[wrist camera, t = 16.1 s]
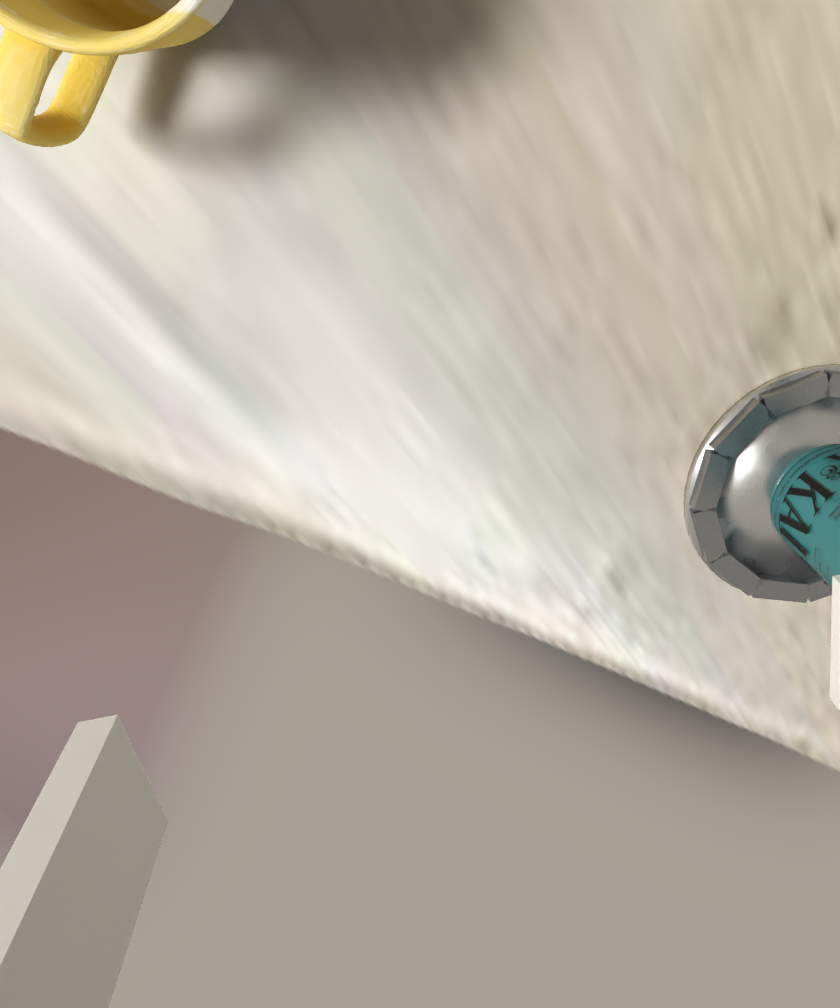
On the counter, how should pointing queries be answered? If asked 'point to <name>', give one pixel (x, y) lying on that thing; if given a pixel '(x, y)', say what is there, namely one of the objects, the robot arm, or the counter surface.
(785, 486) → the beverage bottle
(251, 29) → the counter surface
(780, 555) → the grey round plate
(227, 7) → the mug
